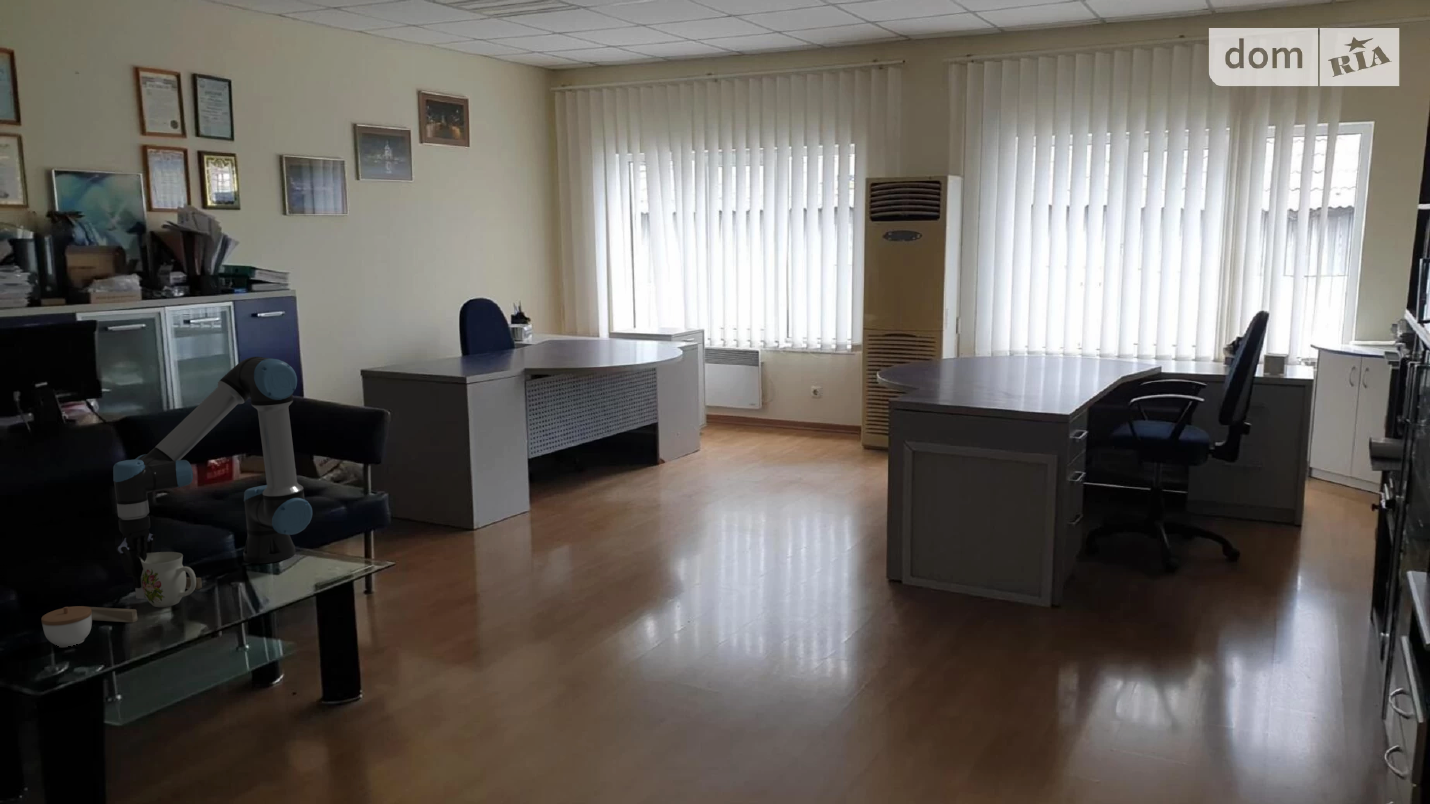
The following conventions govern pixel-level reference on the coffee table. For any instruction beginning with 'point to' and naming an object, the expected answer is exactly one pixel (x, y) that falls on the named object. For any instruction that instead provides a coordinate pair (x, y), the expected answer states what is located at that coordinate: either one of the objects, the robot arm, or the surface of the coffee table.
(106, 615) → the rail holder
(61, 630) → the lidded jar
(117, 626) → the coffee table surface
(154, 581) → the pitcher
